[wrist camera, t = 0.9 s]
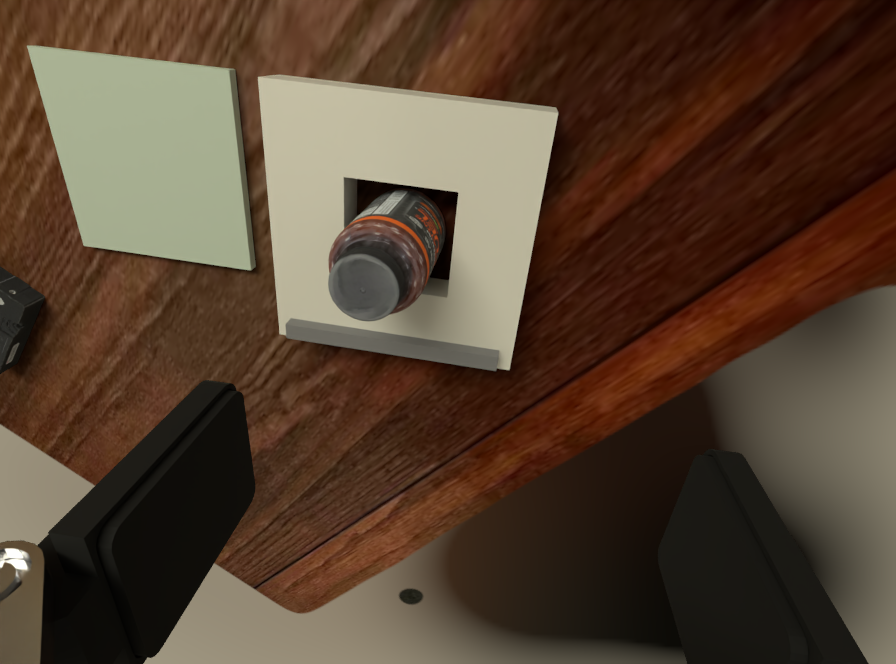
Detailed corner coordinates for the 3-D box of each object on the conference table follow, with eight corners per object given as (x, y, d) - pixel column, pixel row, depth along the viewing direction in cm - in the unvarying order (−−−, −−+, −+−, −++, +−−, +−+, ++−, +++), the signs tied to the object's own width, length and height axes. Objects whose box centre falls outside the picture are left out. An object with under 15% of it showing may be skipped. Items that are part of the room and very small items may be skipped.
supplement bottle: (461, 246, 37) (437, 318, 27) (392, 276, 39) (346, 353, 29) (423, 170, 35) (382, 219, 25) (352, 205, 37) (288, 264, 27)
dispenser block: (279, 74, 33) (249, 77, 29) (555, 107, 32) (559, 115, 28) (295, 316, 42) (274, 340, 38) (510, 349, 41) (509, 377, 37)
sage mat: (37, 45, 34) (26, 45, 33) (235, 69, 33) (228, 69, 32) (91, 242, 41) (83, 245, 40) (255, 266, 40) (251, 270, 39)
